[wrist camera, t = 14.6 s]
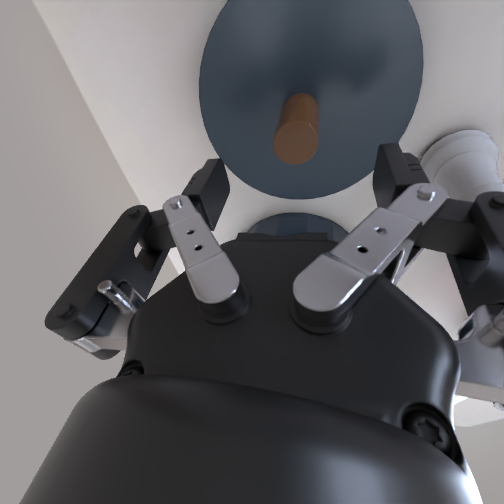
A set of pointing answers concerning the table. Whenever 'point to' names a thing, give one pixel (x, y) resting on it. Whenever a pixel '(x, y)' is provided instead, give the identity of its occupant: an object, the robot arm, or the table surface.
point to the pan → (298, 226)
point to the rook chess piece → (463, 164)
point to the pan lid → (309, 90)
